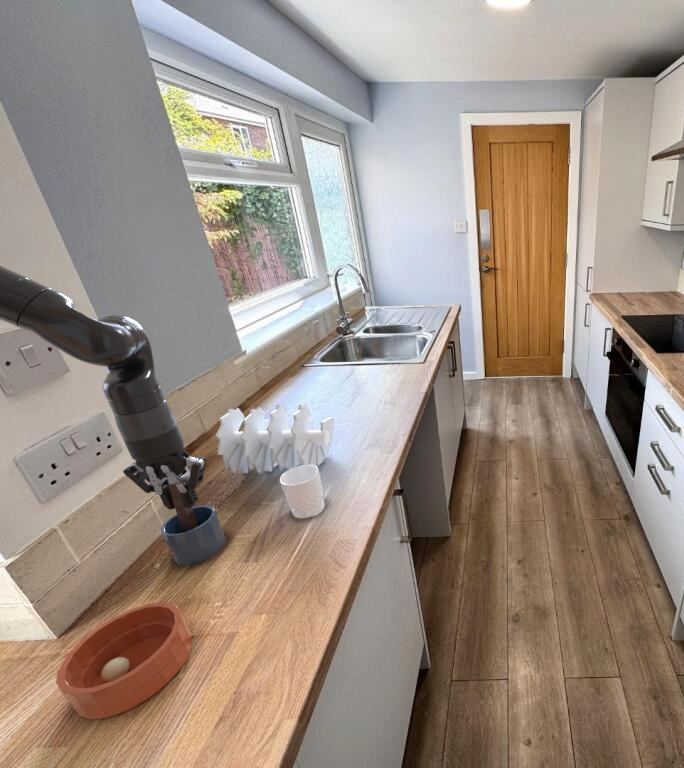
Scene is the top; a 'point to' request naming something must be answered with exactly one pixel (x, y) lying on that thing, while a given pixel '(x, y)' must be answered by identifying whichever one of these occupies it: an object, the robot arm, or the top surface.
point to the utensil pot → (194, 537)
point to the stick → (182, 510)
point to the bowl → (137, 644)
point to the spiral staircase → (272, 440)
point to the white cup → (303, 490)
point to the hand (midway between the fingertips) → (182, 505)
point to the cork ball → (115, 669)
